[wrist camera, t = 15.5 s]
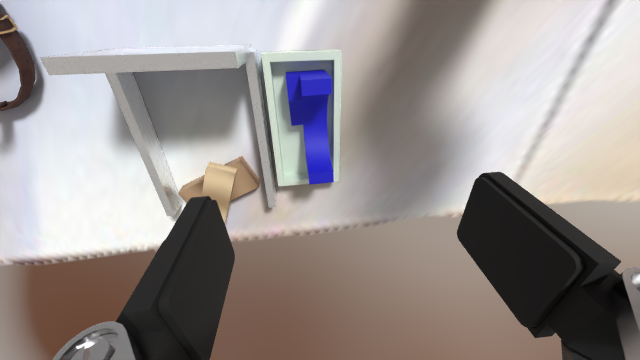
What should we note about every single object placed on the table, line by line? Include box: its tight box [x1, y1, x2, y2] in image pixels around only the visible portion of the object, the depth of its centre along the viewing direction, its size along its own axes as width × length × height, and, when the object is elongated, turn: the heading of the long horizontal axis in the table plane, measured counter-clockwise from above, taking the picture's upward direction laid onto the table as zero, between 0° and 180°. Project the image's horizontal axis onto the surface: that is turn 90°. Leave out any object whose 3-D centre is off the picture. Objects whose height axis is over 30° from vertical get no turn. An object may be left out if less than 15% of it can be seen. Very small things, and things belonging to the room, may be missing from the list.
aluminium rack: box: [40, 44, 276, 216], centre depth 28 cm, size 15×21×10 cm
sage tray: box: [261, 49, 342, 186], centre depth 32 cm, size 9×17×2 cm, turn 2°
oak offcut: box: [202, 162, 237, 223], centre depth 34 cm, size 8×4×2 cm, turn 161°
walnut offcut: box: [178, 156, 260, 203], centre depth 36 cm, size 10×4×2 cm, turn 116°
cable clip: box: [286, 70, 334, 184], centre depth 30 cm, size 12×4×6 cm, turn 3°
